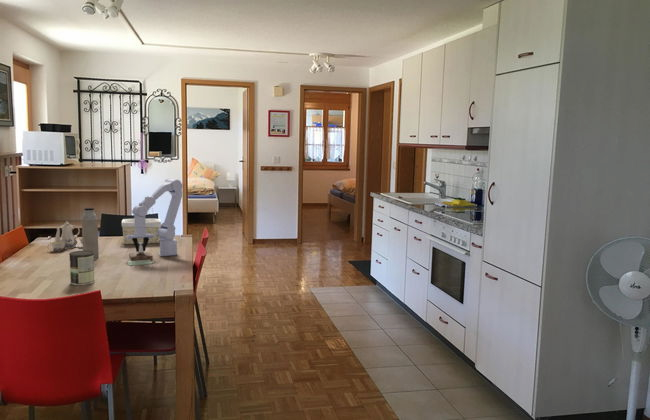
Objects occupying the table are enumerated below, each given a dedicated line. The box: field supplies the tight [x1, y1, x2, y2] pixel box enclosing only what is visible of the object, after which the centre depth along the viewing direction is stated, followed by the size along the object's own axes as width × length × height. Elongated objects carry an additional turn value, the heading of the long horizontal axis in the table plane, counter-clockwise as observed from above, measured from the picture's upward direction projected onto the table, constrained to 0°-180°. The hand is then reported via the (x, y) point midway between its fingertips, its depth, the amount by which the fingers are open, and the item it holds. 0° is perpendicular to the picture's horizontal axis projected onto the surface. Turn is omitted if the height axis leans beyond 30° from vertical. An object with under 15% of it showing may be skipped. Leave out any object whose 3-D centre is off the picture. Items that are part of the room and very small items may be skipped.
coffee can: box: [68, 250, 95, 286], centre depth 245 cm, size 10×10×14 cm
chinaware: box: [47, 220, 83, 252], centre depth 322 cm, size 28×17×17 cm, turn 148°
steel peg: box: [137, 243, 145, 256], centre depth 296 cm, size 3×3×9 cm
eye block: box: [128, 251, 154, 261], centre depth 297 cm, size 11×11×2 cm
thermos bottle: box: [81, 207, 100, 260], centre depth 295 cm, size 8×8×28 cm
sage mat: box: [126, 260, 153, 267], centre depth 287 cm, size 12×9×1 cm
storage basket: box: [121, 218, 162, 245], centre depth 344 cm, size 24×16×15 cm
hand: (140, 251), depth 296 cm, fingers closed on steel peg, 3 cm apart
